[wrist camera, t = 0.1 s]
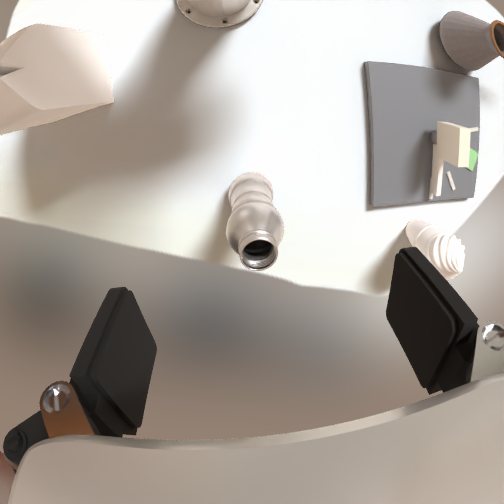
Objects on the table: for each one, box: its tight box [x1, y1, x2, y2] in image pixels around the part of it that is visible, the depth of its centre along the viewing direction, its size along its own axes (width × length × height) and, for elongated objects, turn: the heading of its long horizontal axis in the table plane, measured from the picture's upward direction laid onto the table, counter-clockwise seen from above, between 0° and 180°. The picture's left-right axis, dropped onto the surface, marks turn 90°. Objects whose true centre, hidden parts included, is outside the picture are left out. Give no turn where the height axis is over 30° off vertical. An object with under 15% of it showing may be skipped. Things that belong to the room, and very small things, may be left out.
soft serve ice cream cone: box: [406, 218, 465, 281], centre depth 44 cm, size 8×8×16 cm
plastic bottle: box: [226, 172, 284, 271], centre depth 37 cm, size 6×7×20 cm
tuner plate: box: [364, 61, 480, 207], centre depth 41 cm, size 24×24×2 cm
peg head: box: [429, 121, 471, 196], centre depth 38 cm, size 13×2×8 cm, turn 8°
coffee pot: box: [439, 11, 504, 71], centre depth 25 cm, size 21×12×15 cm, turn 101°
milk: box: [0, 24, 114, 135], centre depth 23 cm, size 12×12×26 cm
